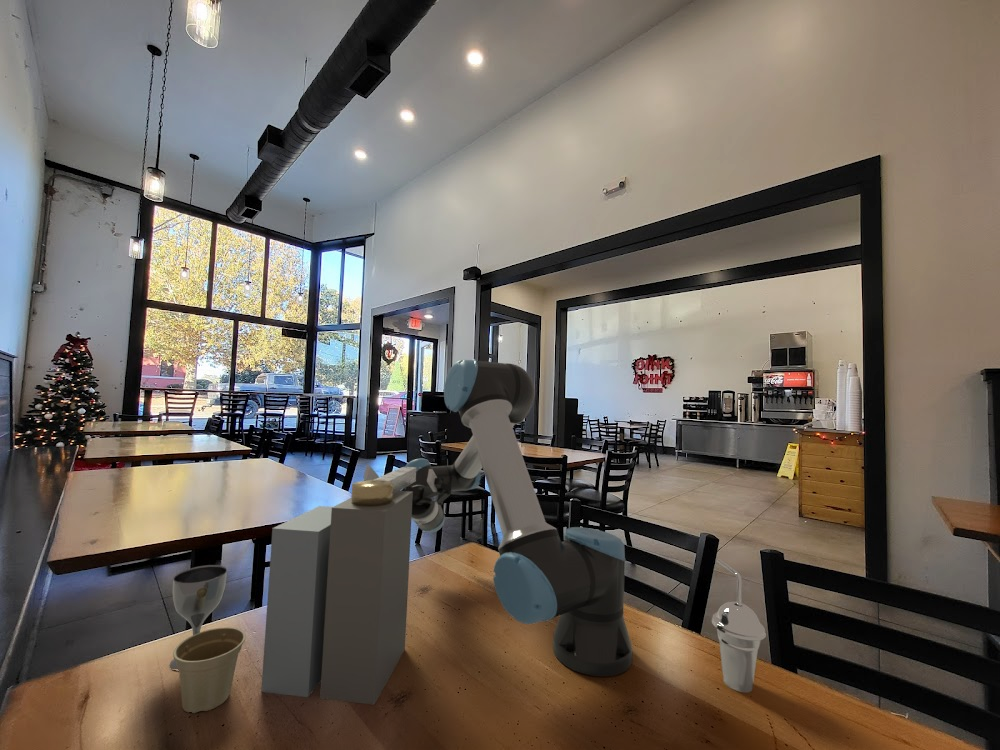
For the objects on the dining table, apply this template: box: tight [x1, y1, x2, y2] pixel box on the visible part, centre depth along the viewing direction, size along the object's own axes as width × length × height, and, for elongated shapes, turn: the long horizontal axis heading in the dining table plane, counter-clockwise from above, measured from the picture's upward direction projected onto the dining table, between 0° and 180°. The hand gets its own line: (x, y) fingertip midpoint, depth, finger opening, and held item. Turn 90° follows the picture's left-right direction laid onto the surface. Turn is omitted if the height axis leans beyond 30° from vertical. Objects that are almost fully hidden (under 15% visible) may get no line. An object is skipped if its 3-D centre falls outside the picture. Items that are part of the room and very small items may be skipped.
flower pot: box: [172, 626, 246, 714], centre depth 67 cm, size 9×9×9 cm
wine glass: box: [168, 564, 228, 670], centre depth 77 cm, size 8×8×15 cm
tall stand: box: [319, 490, 413, 705], centre depth 76 cm, size 9×15×30 cm, turn 174°
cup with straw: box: [711, 558, 767, 693], centre depth 76 cm, size 8×9×20 cm
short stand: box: [260, 505, 333, 698], centre depth 76 cm, size 8×15×26 cm, turn 174°
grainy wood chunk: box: [350, 466, 416, 507], centre depth 83 cm, size 7×23×3 cm, turn 173°
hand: (397, 473), depth 88 cm, fingers open, 13 cm apart
